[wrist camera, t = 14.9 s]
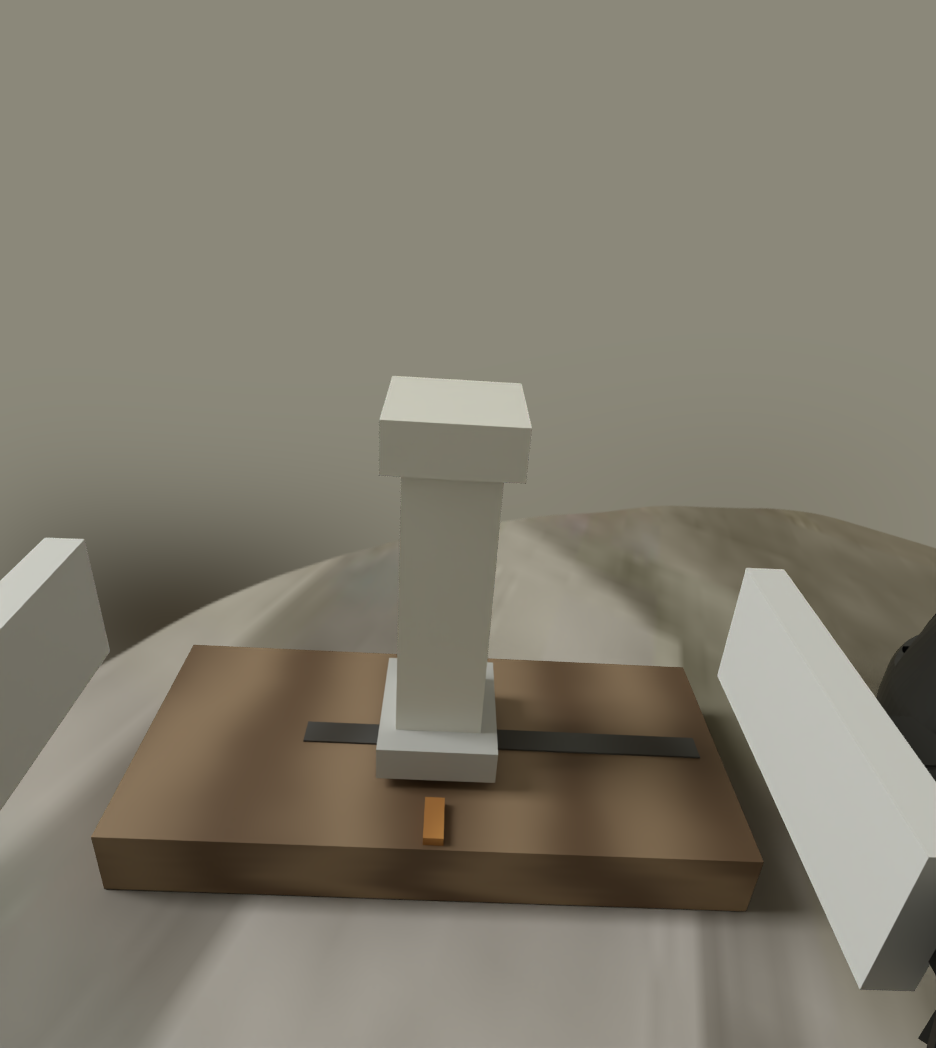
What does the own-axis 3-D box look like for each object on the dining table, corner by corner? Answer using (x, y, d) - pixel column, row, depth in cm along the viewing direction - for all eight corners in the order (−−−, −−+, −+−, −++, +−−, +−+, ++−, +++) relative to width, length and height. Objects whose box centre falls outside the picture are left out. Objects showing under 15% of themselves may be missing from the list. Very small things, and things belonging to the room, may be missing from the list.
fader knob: (490, 688, 36) (520, 379, 29) (495, 782, 31) (533, 433, 24) (388, 683, 36) (393, 372, 29) (375, 778, 31) (378, 424, 24)
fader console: (671, 706, 41) (682, 658, 40) (745, 911, 30) (766, 855, 29) (201, 685, 40) (194, 635, 39) (104, 888, 29) (89, 829, 28)
